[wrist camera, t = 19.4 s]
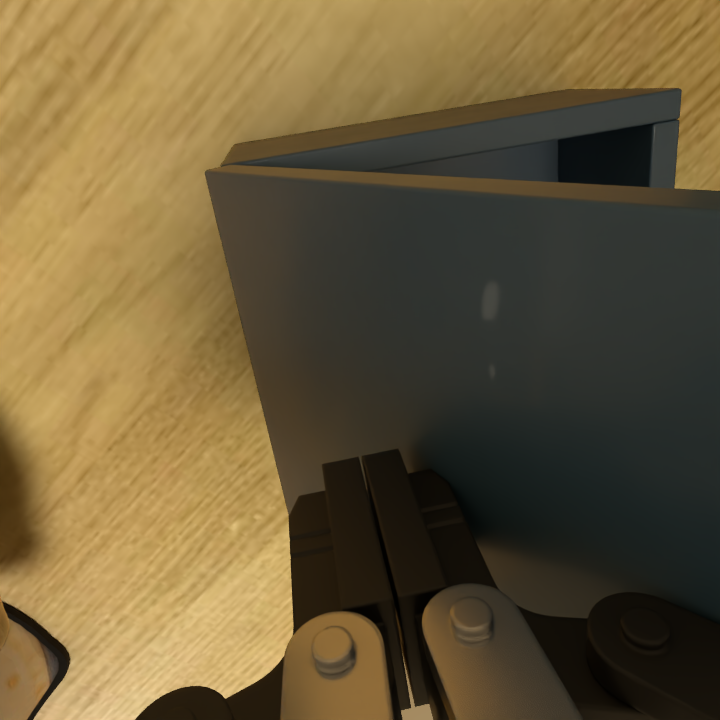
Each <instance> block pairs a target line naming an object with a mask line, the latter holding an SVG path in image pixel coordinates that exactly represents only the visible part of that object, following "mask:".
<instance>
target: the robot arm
mask: <svg viewBox="0 0 720 720" xmlns="http://www.w3.org/2000/svg"><path fill="white" fill-rule="evenodd" d="M362 464H363V470H364V476H365V481H364V477H363V473H362V469H361V464H360V460H359V457H354V458H349V459H344V460H339V461H334V462H329V463H324V464H322V471H323V478H324V485H325V491H320V492H315V493H310V494H305V495H300V496H298V498H297V500H296V502H295V504H294V506H293V508H292V510H291V512H290V514H289V535H290V555H291V579H292V600H293V622H294V629H293V636H292V638H291V640H290V641H289V643H288V645H287V648H286V651H285V655H284V657H283V658H282V660H281V661H280V662H279V664H278V665H277V666H276V667H275V668H274V669H273V670H272V671H271V672H270V673H268V674H267V675H266V676H265V677H263V678H262V679H260V680H259V681H257V682H256V683H254V684H252V685H250V686H248V687H247V688H245V689H243V690H241V691H239V692H237V693H236V694H234V695H232V696H230V697H228V698H227V699H225V698H224V697H223V696H222V695H221V694H220V693H218V692H217V691H215V690H213V689H210V688H208V687H202V686H190V687H184V688H180V689H177V690H174V691H172V692H169V693H167V694H165V695H163V696H162V697H160V698H159V699H157V700H155V701H154V702H153V703H152V704H150V705H149V706H148V707H147V708H146V709H145V710H144V711H143V712H142V713H141V714H140V715H139V716H138V717H137V718H136V719H135V720H402V715H401V710H405V709H409V708H411V704H410V698H409V692H408V686H407V680H406V674H405V668H404V662H403V657H404V661H405V665H406V670H407V674H408V678H409V682H410V687H411V691H412V695H413V699H414V703H415V707H416V706H421V705H424V704H430V708H431V712H432V716H433V720H720V624H718V623H715V622H713V621H711V620H709V619H706V618H704V617H702V616H700V615H697V614H695V613H693V612H691V611H689V610H686V609H684V608H682V607H680V606H677V605H675V604H673V603H671V602H669V601H666V600H664V599H661V598H659V597H656V596H653V595H649V594H645V593H638V592H622V593H616V594H612V595H609V596H607V597H605V598H603V599H601V600H600V601H599V602H597V603H596V604H595V605H594V607H593V608H592V609H591V611H590V613H589V616H588V618H573V617H558V616H548V615H542V614H538V613H534V612H531V611H528V610H526V609H524V608H522V607H520V606H518V605H516V604H515V603H514V601H513V600H512V599H511V598H509V597H508V596H507V595H506V594H504V593H503V592H501V591H500V590H499V589H498V587H497V585H496V584H495V582H494V580H493V578H492V575H491V573H490V571H489V569H488V567H487V565H486V562H485V560H484V558H483V556H482V554H481V552H480V549H479V547H478V545H477V543H476V541H475V538H474V536H473V534H472V532H471V530H470V528H469V525H468V523H467V522H466V521H465V517H464V515H463V512H462V510H461V508H460V506H458V501H457V499H456V497H455V495H454V493H453V491H452V488H451V486H450V484H449V483H448V482H447V481H446V480H445V479H443V478H442V477H441V476H439V475H438V474H437V473H436V472H434V471H433V470H432V469H427V470H422V471H417V472H413V473H407V470H406V467H405V465H404V462H403V459H402V456H401V454H400V451H399V449H393V450H388V451H383V452H378V453H373V454H368V455H363V456H362ZM365 482H366V485H365ZM366 488H367V489H366ZM402 653H403V655H402Z"/></svg>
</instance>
